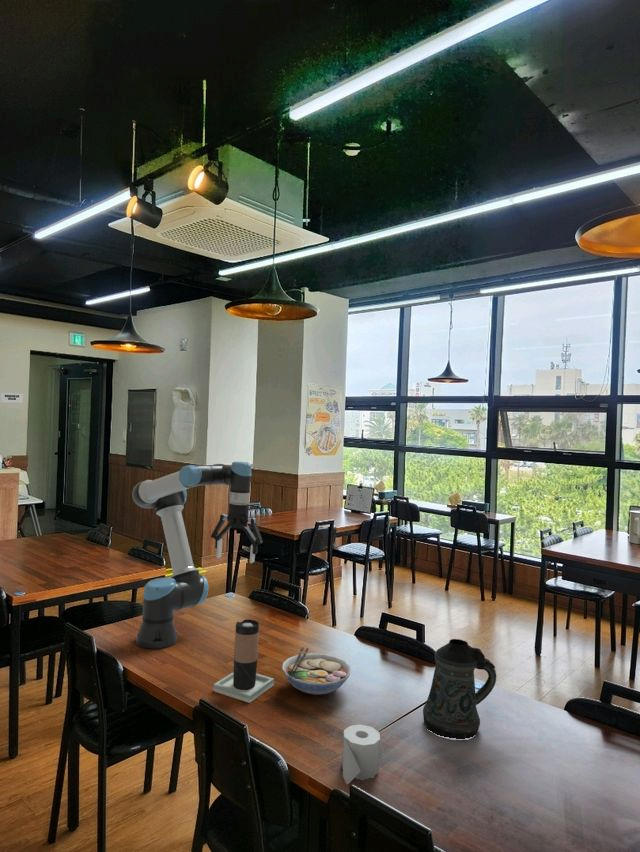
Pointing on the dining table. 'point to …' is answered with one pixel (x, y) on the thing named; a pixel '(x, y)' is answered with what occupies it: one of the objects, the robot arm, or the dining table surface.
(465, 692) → the beer stein
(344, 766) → the toilet tissue
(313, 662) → the ramen bowl
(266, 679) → the square plate
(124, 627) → the dining table surface
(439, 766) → the dining table surface
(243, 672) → the travel mug
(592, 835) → the dining table surface
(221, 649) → the dining table surface
